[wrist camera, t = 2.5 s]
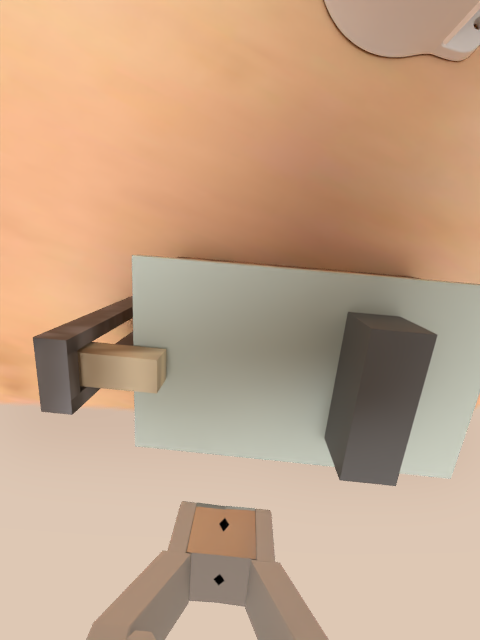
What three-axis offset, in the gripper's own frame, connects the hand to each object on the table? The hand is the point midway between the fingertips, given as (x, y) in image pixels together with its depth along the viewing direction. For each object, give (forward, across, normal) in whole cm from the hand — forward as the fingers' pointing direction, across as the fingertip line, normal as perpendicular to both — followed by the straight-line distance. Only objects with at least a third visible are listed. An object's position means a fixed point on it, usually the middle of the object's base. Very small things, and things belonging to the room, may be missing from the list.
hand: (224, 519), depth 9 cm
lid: (+13, -5, 0) cm, 13 cm away
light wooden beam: (+11, +9, 0) cm, 15 cm away
